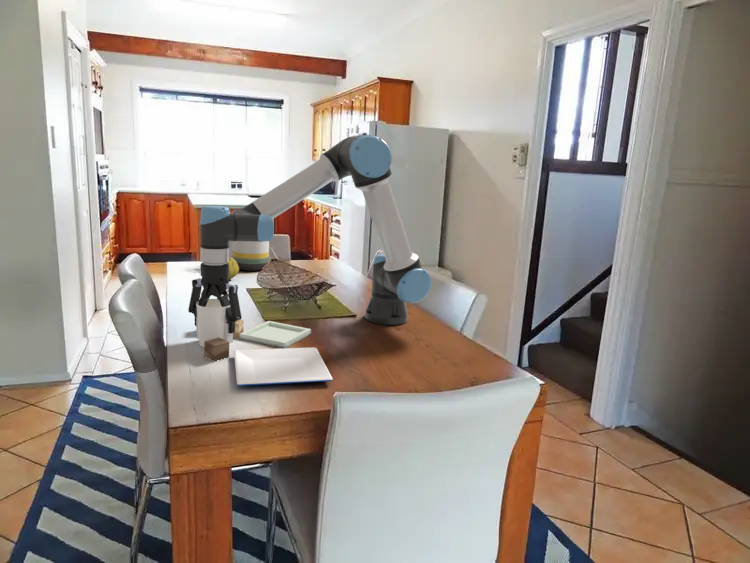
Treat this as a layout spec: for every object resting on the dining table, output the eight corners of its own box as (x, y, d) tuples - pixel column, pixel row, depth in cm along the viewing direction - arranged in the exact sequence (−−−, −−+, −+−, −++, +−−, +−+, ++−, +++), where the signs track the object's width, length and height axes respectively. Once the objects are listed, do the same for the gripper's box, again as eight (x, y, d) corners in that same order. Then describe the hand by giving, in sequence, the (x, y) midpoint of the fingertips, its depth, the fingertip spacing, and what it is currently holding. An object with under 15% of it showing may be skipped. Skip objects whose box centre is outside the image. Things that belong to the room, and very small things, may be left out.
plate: (332, 386, 126) (333, 378, 126) (236, 392, 120) (237, 383, 119) (316, 353, 147) (316, 346, 147) (233, 356, 140) (233, 349, 140)
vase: (275, 270, 252) (276, 221, 247) (245, 274, 240) (245, 222, 235) (255, 264, 263) (256, 216, 258) (225, 267, 251) (225, 217, 246)
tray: (310, 333, 163) (311, 329, 163) (285, 348, 149) (285, 343, 148) (268, 325, 168) (268, 320, 168) (239, 338, 154) (239, 333, 154)
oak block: (243, 333, 159) (243, 319, 158) (239, 338, 155) (239, 324, 154) (228, 332, 159) (228, 318, 158) (224, 337, 155) (224, 322, 154)
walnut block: (229, 357, 139) (229, 341, 138) (214, 362, 136) (214, 345, 135) (218, 353, 142) (218, 337, 141) (204, 357, 138) (204, 341, 137)
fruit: (205, 279, 224) (205, 256, 222) (227, 276, 234) (227, 254, 232) (222, 284, 218) (222, 260, 216) (244, 280, 228) (244, 257, 226)
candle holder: (210, 352, 142) (210, 309, 139) (189, 343, 148) (188, 302, 145) (239, 344, 150) (240, 303, 147) (218, 335, 155) (218, 296, 153)
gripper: (256, 265, 143) (254, 343, 148) (192, 255, 151) (192, 330, 156) (239, 270, 136) (238, 351, 141) (173, 259, 144) (174, 337, 149)
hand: (214, 340), depth 148 cm, fingers closed on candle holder, 9 cm apart
